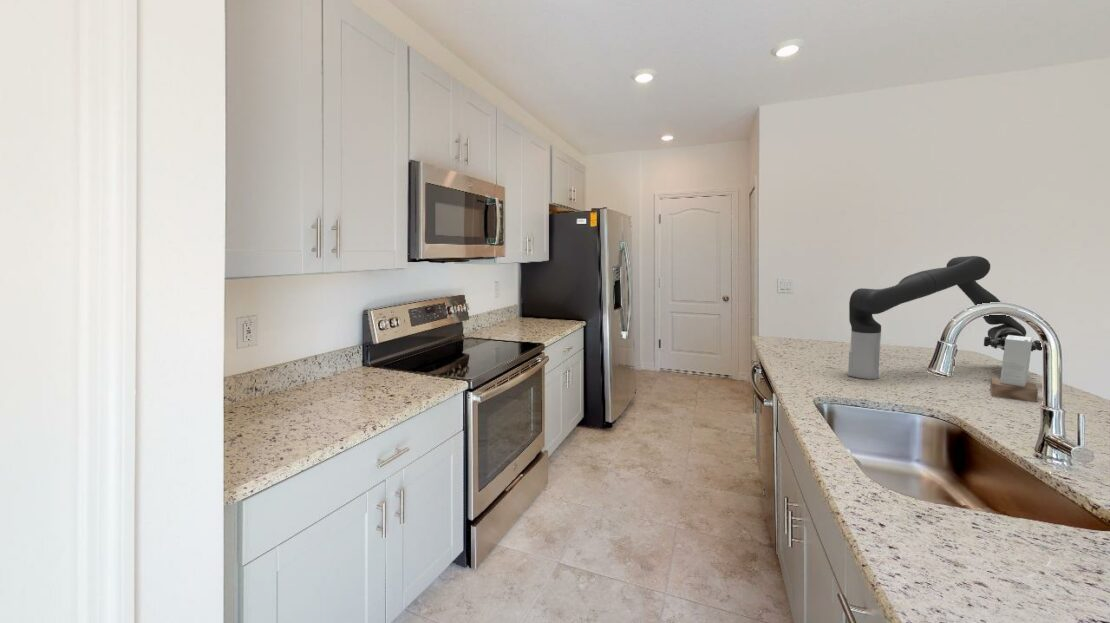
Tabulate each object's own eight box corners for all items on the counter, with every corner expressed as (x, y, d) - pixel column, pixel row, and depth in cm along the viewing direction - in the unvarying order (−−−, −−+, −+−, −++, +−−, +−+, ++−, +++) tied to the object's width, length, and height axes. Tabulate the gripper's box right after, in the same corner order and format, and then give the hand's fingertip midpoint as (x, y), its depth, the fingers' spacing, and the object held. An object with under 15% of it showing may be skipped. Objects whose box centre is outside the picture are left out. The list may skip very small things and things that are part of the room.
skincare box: (1002, 378, 151) (1006, 334, 149) (1028, 382, 146) (1032, 336, 144) (999, 383, 145) (1003, 338, 144) (1026, 387, 141) (1031, 340, 139)
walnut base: (991, 396, 146) (992, 383, 145) (990, 388, 153) (991, 377, 153) (1036, 402, 139) (1038, 389, 139) (1032, 394, 147) (1033, 382, 146)
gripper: (983, 327, 169) (985, 333, 157) (1039, 331, 159) (1045, 337, 147) (982, 347, 169) (983, 355, 157) (1037, 352, 160) (1043, 360, 148)
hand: (1013, 346), depth 152 cm, fingers open, 8 cm apart
